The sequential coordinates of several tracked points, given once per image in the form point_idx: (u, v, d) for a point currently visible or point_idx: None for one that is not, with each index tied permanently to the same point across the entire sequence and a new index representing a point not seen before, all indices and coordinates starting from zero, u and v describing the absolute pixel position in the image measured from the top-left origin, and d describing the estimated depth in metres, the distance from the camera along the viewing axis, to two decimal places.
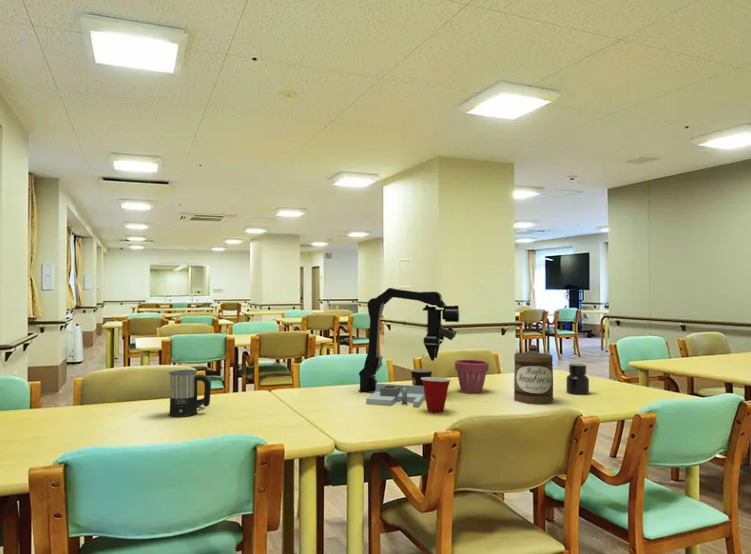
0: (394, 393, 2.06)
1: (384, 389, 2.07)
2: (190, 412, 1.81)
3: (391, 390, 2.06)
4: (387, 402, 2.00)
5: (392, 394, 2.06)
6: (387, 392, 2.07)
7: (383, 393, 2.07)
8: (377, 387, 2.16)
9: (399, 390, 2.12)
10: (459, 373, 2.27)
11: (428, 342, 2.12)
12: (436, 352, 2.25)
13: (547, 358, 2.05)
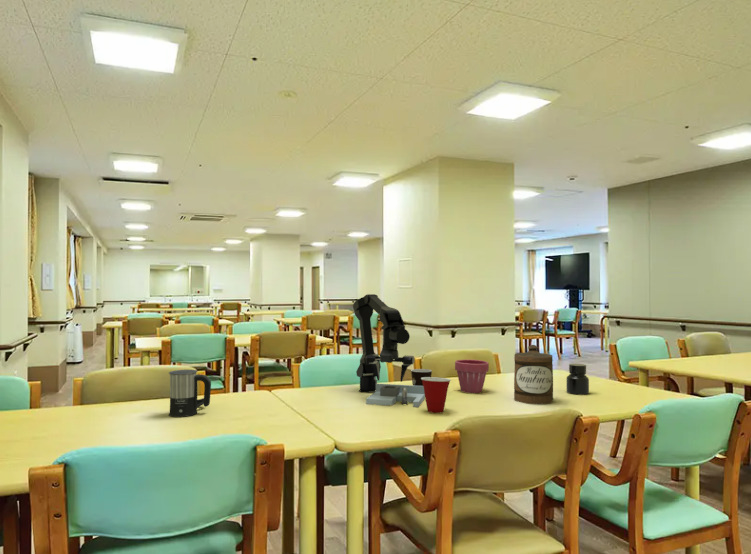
0: (394, 393, 2.06)
1: (384, 389, 2.07)
2: (190, 412, 1.81)
3: (391, 390, 2.06)
4: (387, 402, 2.00)
5: (392, 394, 2.06)
6: (387, 392, 2.07)
7: (383, 393, 2.07)
8: (377, 387, 2.16)
9: (399, 390, 2.12)
10: (459, 373, 2.27)
11: None
12: None
13: (547, 358, 2.05)
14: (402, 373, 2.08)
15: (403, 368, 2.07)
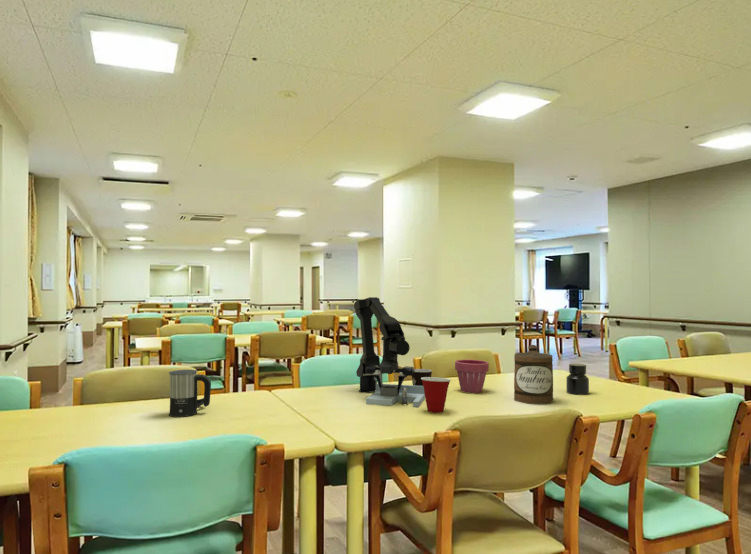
0: (394, 393, 2.06)
1: (384, 389, 2.07)
2: (190, 412, 1.81)
3: (391, 390, 2.06)
4: (387, 402, 2.00)
5: (392, 394, 2.06)
6: (387, 392, 2.07)
7: (383, 393, 2.07)
8: (377, 387, 2.16)
9: None
10: (459, 373, 2.27)
11: None
12: None
13: (547, 358, 2.05)
14: (399, 384, 2.08)
15: (400, 379, 2.07)
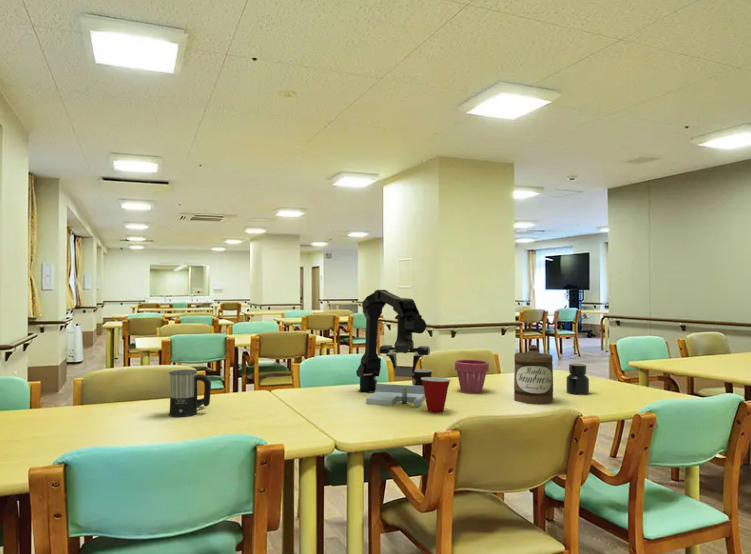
0: (409, 373, 1.99)
1: (399, 369, 2.00)
2: (190, 412, 1.81)
3: (406, 370, 1.99)
4: (387, 402, 2.00)
5: (407, 374, 1.99)
6: (402, 372, 2.00)
7: (398, 373, 2.00)
8: (377, 387, 2.16)
9: None
10: (459, 373, 2.27)
11: None
12: None
13: (547, 358, 2.05)
14: (414, 364, 2.01)
15: (415, 359, 2.00)
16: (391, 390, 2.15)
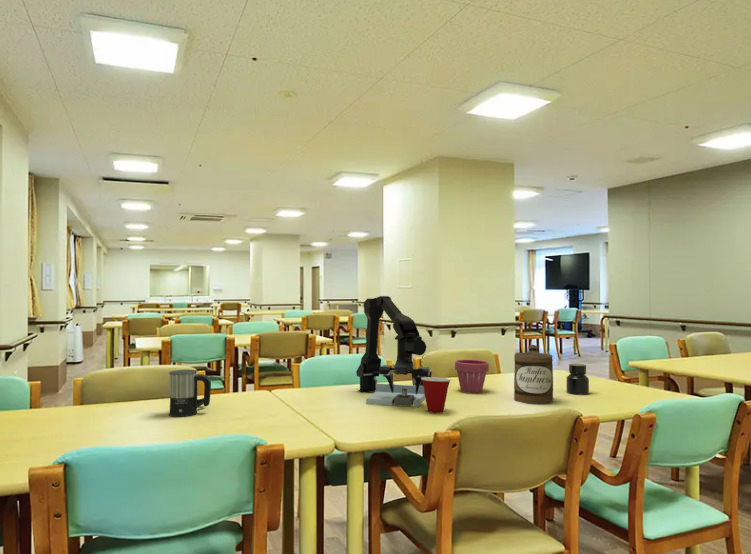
0: (409, 403, 1.99)
1: (398, 398, 2.00)
2: (190, 412, 1.81)
3: (406, 399, 1.99)
4: (387, 402, 2.00)
5: (407, 404, 1.99)
6: (402, 401, 1.99)
7: (397, 402, 2.00)
8: (377, 387, 2.16)
9: None
10: (459, 373, 2.27)
11: None
12: (416, 388, 2.01)
13: (547, 358, 2.05)
14: (417, 385, 2.00)
15: (418, 380, 1.99)
16: None
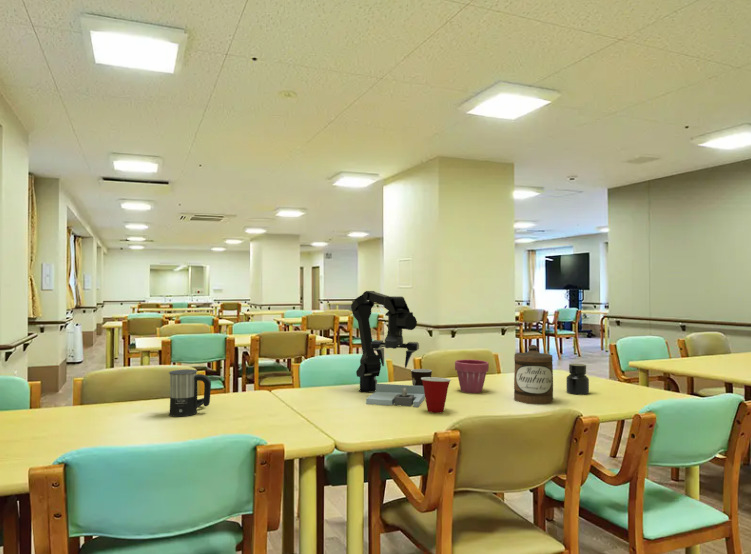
0: (409, 403, 1.99)
1: (398, 398, 2.00)
2: (190, 412, 1.81)
3: (406, 399, 1.99)
4: (387, 402, 2.00)
5: (407, 404, 1.99)
6: (402, 401, 1.99)
7: (397, 402, 2.00)
8: (377, 387, 2.16)
9: None
10: (459, 373, 2.27)
11: None
12: (405, 362, 2.11)
13: (547, 358, 2.05)
14: (406, 359, 2.10)
15: (408, 354, 2.09)
16: (391, 390, 2.15)
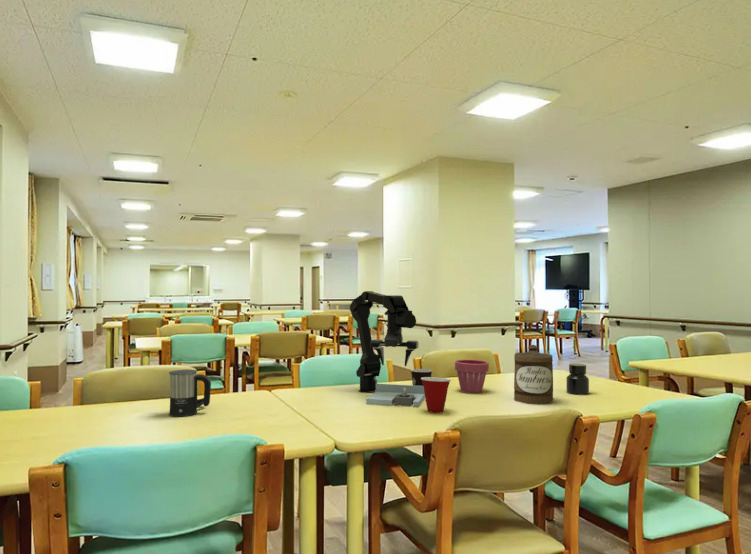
0: (409, 403, 1.99)
1: (398, 398, 2.00)
2: (190, 412, 1.81)
3: (406, 399, 1.99)
4: (387, 402, 2.00)
5: (407, 404, 1.99)
6: (402, 401, 1.99)
7: (397, 402, 2.00)
8: (377, 387, 2.16)
9: None
10: (459, 373, 2.27)
11: None
12: (405, 360, 2.11)
13: (547, 358, 2.05)
14: (406, 358, 2.10)
15: (407, 353, 2.10)
16: (391, 390, 2.15)
